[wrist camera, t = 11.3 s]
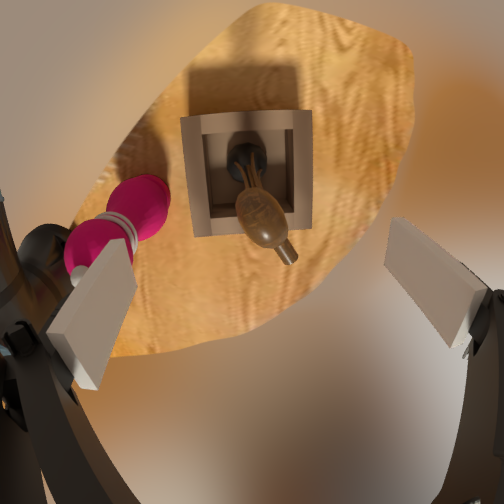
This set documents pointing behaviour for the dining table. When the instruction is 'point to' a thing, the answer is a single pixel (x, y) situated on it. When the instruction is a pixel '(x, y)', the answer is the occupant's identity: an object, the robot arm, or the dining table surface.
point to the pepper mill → (119, 223)
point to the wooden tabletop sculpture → (259, 202)
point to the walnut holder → (227, 189)
